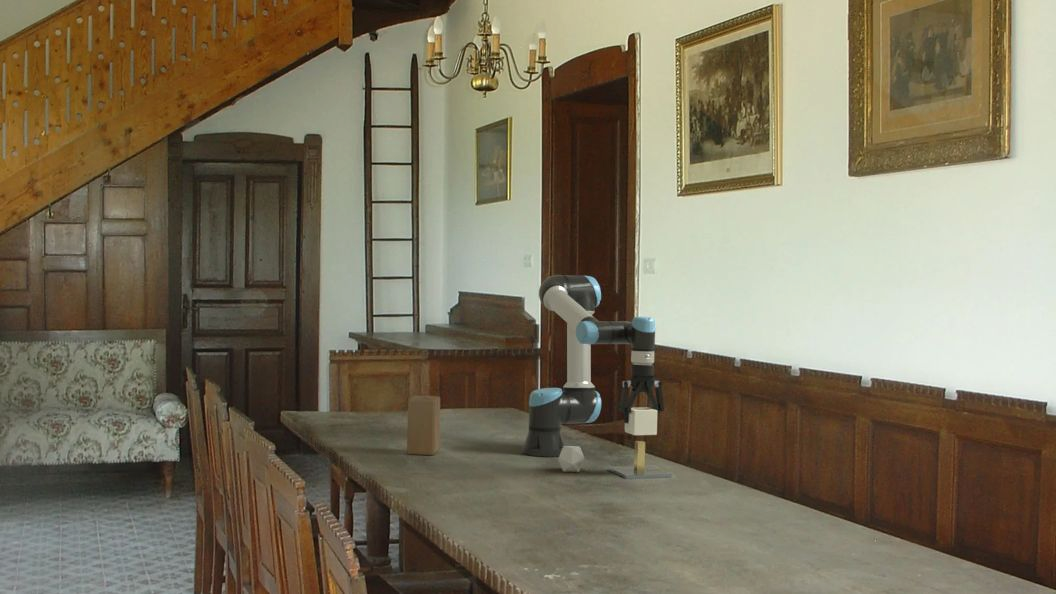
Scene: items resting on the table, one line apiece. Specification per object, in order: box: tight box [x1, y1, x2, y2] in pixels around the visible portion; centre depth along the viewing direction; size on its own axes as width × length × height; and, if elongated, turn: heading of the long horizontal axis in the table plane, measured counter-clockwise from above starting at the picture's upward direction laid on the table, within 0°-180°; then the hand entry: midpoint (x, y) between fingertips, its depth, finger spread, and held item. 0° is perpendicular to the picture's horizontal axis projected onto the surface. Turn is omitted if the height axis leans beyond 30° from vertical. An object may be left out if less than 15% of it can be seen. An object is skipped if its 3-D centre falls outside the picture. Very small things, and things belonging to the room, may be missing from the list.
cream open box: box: [624, 407, 658, 436], centre depth 363 cm, size 8×8×8 cm
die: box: [557, 445, 585, 473], centre depth 364 cm, size 8×9×10 cm
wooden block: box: [406, 394, 441, 456], centre depth 390 cm, size 10×10×20 cm
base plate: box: [607, 440, 673, 480], centre depth 363 cm, size 16×16×10 cm
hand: (640, 432), depth 363 cm, fingers closed on cream open box, 8 cm apart
